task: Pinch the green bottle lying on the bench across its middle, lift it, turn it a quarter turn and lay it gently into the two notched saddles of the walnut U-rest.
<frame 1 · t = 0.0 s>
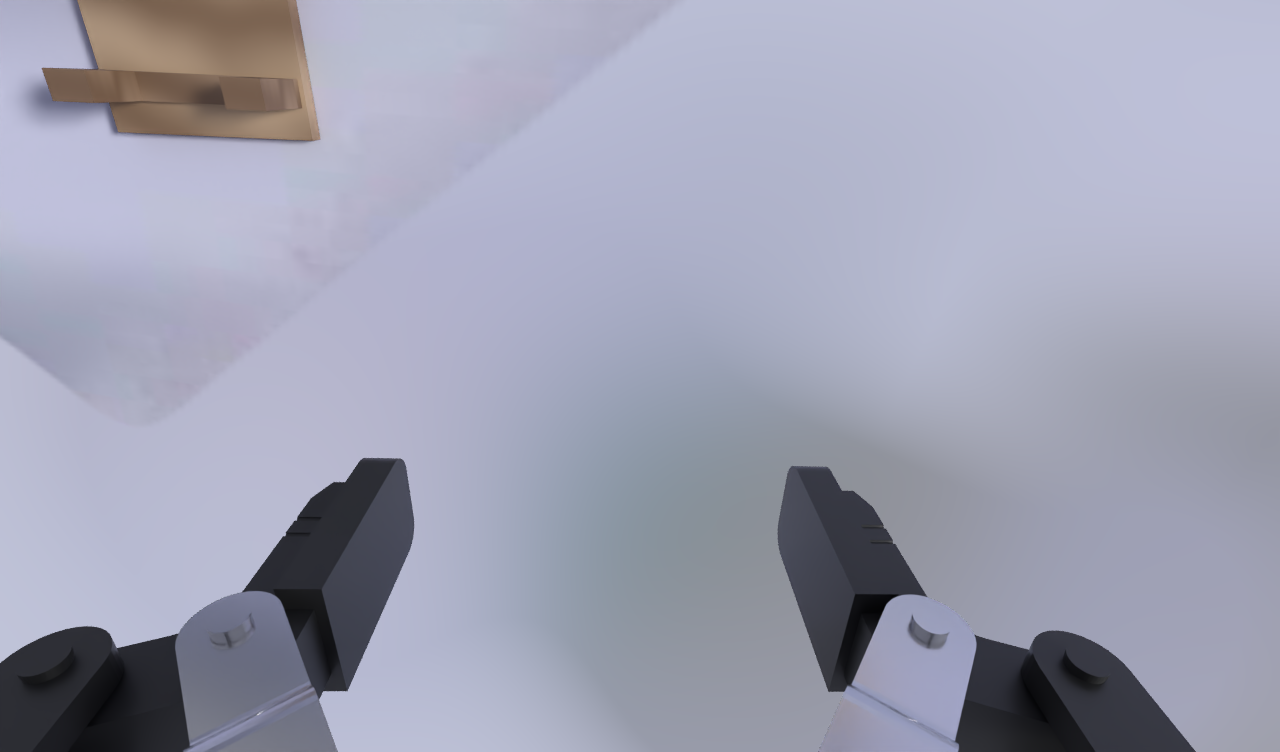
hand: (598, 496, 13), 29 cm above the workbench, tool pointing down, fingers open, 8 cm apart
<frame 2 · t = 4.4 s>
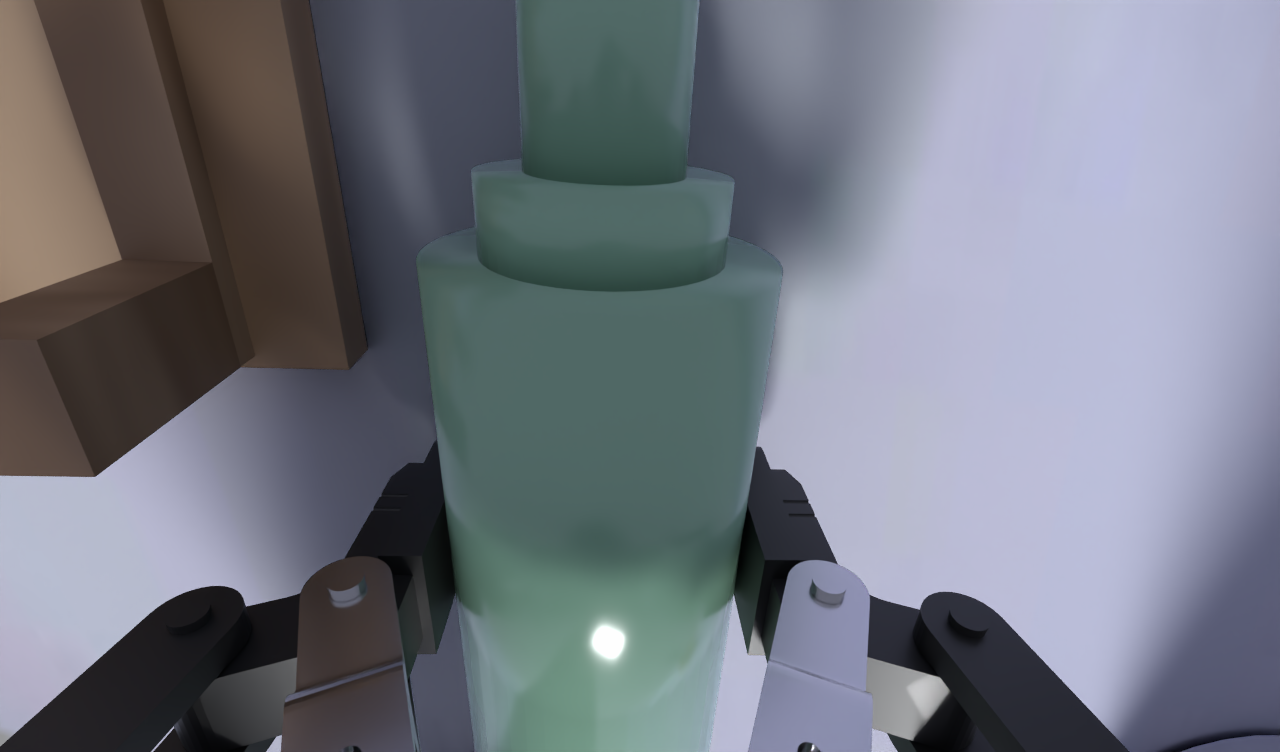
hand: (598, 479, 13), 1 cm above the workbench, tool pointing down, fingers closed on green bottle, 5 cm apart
green bottle: (605, 453, 14), on the workbench, touching gripper
when the fingers open (4 cm above the workbench, at t = 10.3 s): green bottle stays where it is, resting on u rest.
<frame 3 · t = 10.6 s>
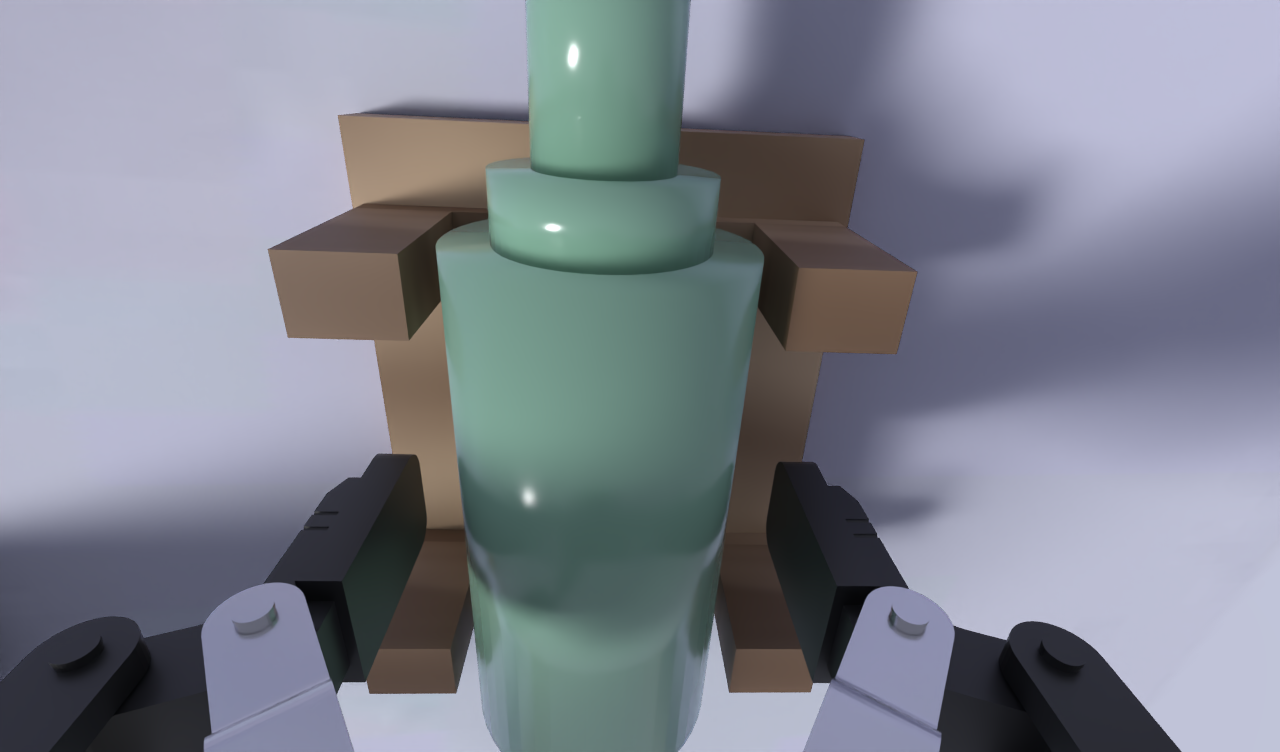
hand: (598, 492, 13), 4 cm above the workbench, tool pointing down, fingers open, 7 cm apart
u rest: (602, 399, 16), on the workbench
green bottle: (603, 432, 15), point 2 cm above the workbench, touching u rest
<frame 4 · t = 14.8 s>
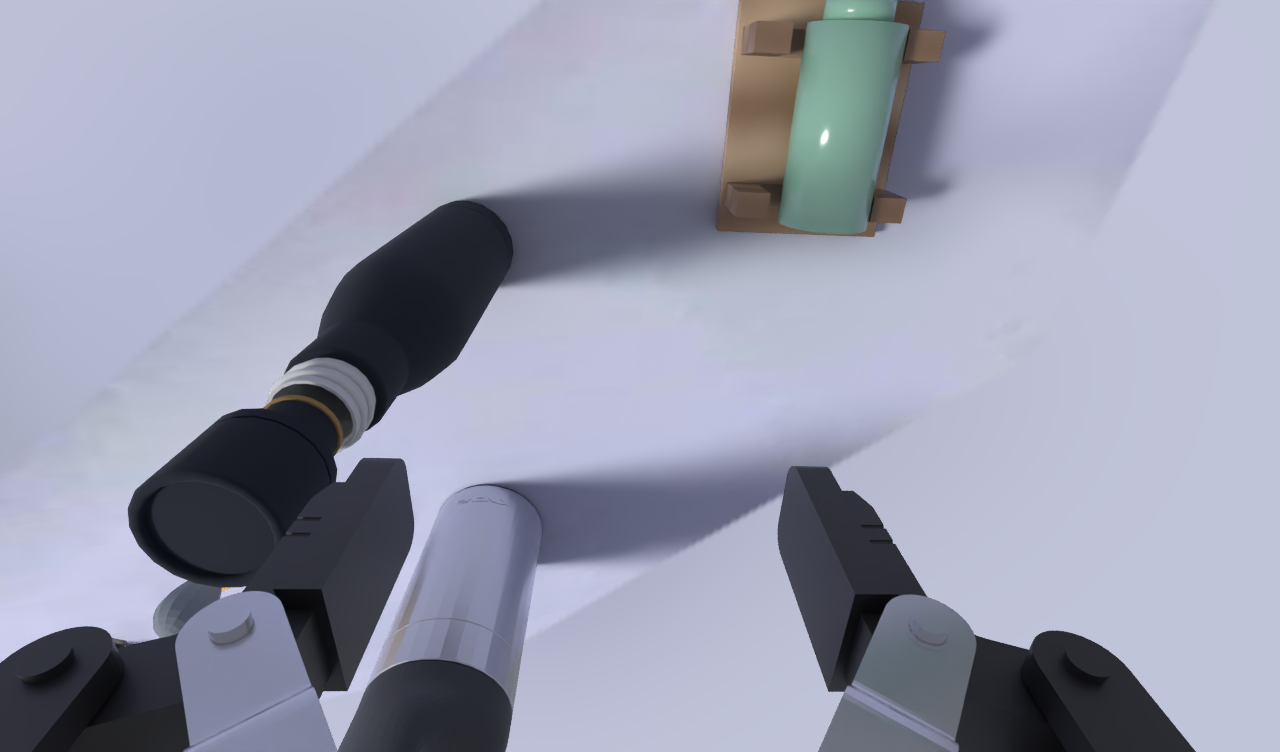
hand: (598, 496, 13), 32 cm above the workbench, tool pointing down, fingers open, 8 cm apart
u rest: (809, 124, 40), on the workbench
rubber stamp: (260, 521, 52), on the workbench
green bottle: (817, 128, 38), point 2 cm above the workbench, tilted 9°, touching u rest
wine bottle: (468, 246, 42), on the workbench
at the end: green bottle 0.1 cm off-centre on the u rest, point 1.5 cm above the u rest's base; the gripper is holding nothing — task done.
